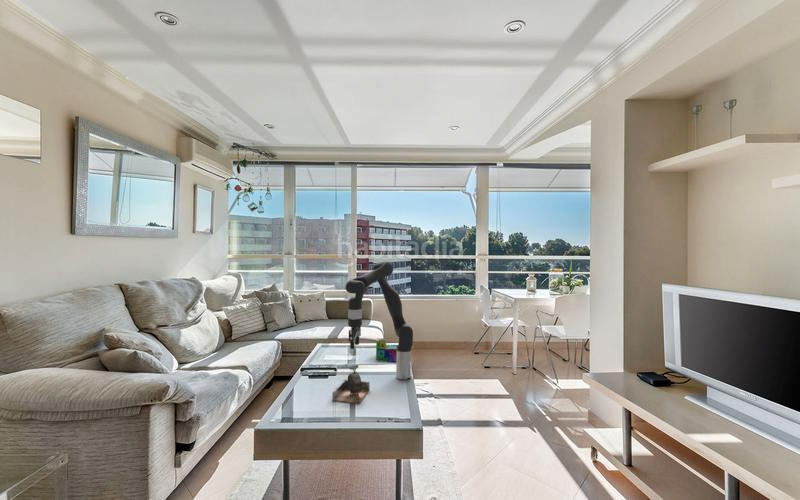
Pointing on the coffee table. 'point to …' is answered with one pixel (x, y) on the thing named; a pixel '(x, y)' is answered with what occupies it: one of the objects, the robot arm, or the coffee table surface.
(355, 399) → the walnut plate
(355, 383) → the alarm clock
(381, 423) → the coffee table surface
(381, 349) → the block puzzle
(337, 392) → the corner walls
